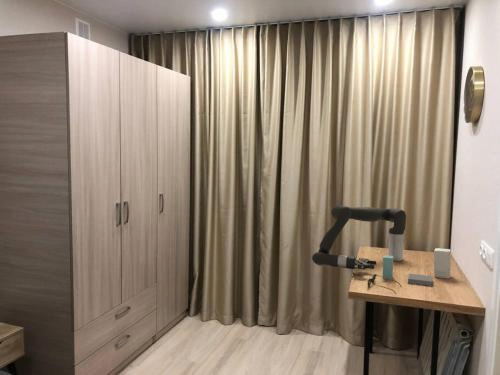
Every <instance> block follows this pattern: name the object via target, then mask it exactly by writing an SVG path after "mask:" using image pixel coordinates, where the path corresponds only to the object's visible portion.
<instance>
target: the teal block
mask: <svg viewBox="0 0 500 375" xmlns="http://www.w3.org/2000/svg"><path fill="white" fill-rule="evenodd" d="M382 276H383V277H382V279H385V280H389V279H391V280H393V277H394V260H393V256H388V254H387V255H386V254H385V255H383V257H382ZM384 277H386V278H384ZM387 278H388V279H387Z"/></svg>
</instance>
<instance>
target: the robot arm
mask: <svg viewBox="0 0 500 375" xmlns="http://www.w3.org/2000/svg"><path fill="white" fill-rule="evenodd" d="M330 214H331V216H332V218H334V219H336V220H335V222H334V224H333V225H332V226H331V228H330V229H329V230H327V231H326V232H325V234H324V235H323V237H322V240H321V242H320V243H319V245H318V247H319V249H318V251H317V252H315V253H313V254H312V256H311V259H312V262H313V264H315V265H316V266H319V267H321V266H324V265H326V266H330V267H335V268H341V269H349V270H355V269H356V270H357V269H358V270H368V269H370V270H375V266H377V261H376V260H370V259H369V258H363V257H362V258H361V257H360V258H358V259H356V256H355V255H354V256H353V255H346V254H341V255H340V254H330V251H331V249H332V247H333V246H334V244H335V241H336V239H337V238H338V236H339V235H340V233H342V232H341V231H342V230H343V229H344V227H345V226H346V225H347V223H348V222H349V220H353V221H354V220H355V221H361V222H367V223H368V222H369V223H370V222H371V223H374V222H379V221H386V222H389V223H393V226H392V227H390V228H389V229H388V252H387V256H393V262H395V261H398V262H401V261H403V260H404V239H405V237H404V236H405V230H406V225H407V224H406V223H407V214H406V211H405V210H403V209H399V208H395V207H394V208H379V207H372V206H371V207H370V206H357V207H355V206H353V207H352V206H351V207H350V206H346V205H341V204H340V205H335V206H333V207H332V209H331V212H330Z"/></svg>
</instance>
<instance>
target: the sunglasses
mask: <svg viewBox="0 0 500 375" xmlns="http://www.w3.org/2000/svg"><path fill="white" fill-rule="evenodd" d="M377 277H381V278H383V275H379V274H376V273H375V274H373V275H372V277H371V278H369V279H368V280H367V289H369V287H371V284H372V285H375V286H376V287H377V286H378V287H381V288H385V289H387V290H390V291H392V292H393V293H395V294H396V291H395V290H394V289H391V288H389V287H386V286H382V285H379V284H376V283H375V281H376V279H377ZM384 278H386V277H384ZM384 278H383V279H384ZM386 280H390V281H393V282H395V283H397V284H399V286H400V287H401V288H403V287H402V285H401V283H400V282H398V281H396V280H393V279H388V278H387V279H386Z"/></svg>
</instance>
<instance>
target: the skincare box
mask: <svg viewBox="0 0 500 375" xmlns="http://www.w3.org/2000/svg"><path fill="white" fill-rule="evenodd" d="M451 250H452V249H450V248H439V247H437V248H435V249H434V251H433V254H434V255H433V257H434V258H433V277H434V278H441V279H448V280H449V279H450V278H451V266H452V263H451V262H452V261H451V260H452V259H451V258H452V257H451V256H452V254H451V253H452V252H451Z"/></svg>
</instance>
